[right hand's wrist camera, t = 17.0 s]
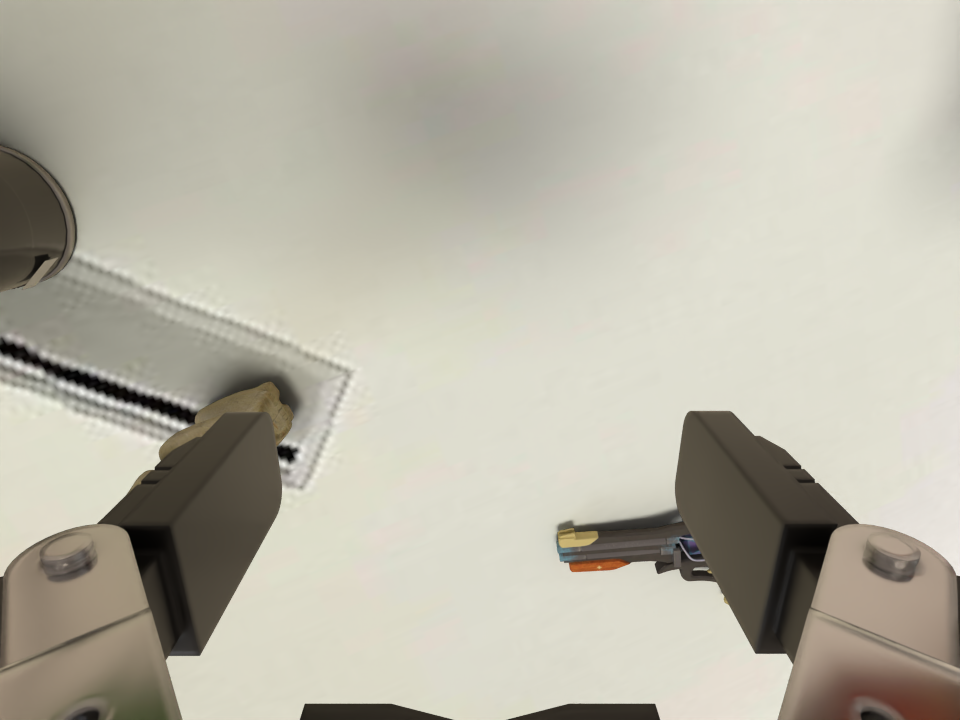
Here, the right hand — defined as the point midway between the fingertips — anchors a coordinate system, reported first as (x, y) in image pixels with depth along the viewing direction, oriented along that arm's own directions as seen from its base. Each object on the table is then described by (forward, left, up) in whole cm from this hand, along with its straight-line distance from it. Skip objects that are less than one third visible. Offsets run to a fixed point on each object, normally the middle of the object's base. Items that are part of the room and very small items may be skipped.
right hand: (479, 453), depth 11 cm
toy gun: (+32, 0, -30) cm, 44 cm away
